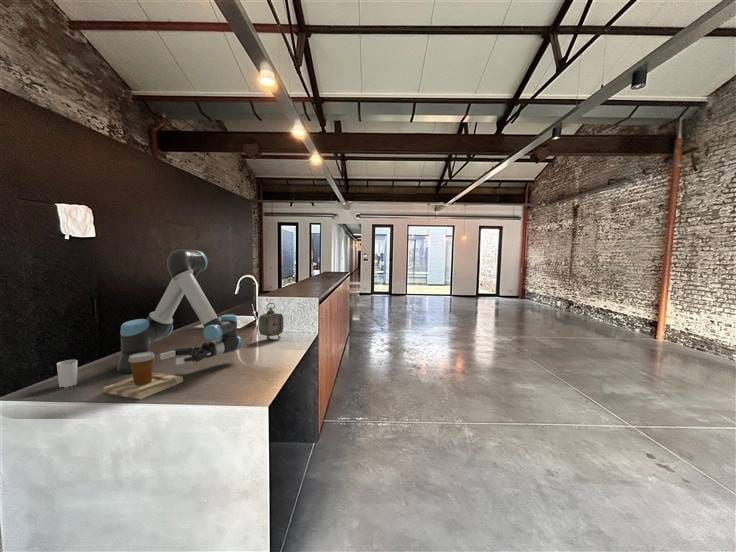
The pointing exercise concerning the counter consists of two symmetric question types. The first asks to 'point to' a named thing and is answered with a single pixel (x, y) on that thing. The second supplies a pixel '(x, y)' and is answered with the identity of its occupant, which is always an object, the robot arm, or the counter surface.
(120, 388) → the birch board
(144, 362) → the disposable coffee cup
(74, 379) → the drinking glass
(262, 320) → the tabletop clock
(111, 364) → the counter surface
